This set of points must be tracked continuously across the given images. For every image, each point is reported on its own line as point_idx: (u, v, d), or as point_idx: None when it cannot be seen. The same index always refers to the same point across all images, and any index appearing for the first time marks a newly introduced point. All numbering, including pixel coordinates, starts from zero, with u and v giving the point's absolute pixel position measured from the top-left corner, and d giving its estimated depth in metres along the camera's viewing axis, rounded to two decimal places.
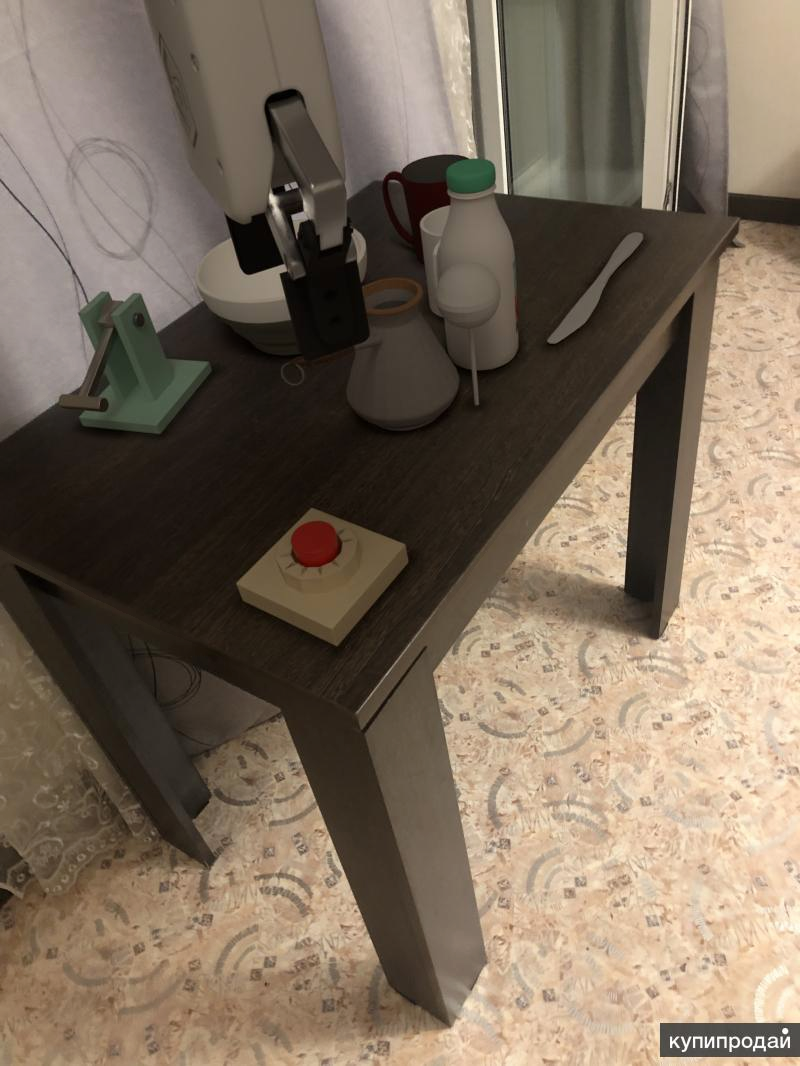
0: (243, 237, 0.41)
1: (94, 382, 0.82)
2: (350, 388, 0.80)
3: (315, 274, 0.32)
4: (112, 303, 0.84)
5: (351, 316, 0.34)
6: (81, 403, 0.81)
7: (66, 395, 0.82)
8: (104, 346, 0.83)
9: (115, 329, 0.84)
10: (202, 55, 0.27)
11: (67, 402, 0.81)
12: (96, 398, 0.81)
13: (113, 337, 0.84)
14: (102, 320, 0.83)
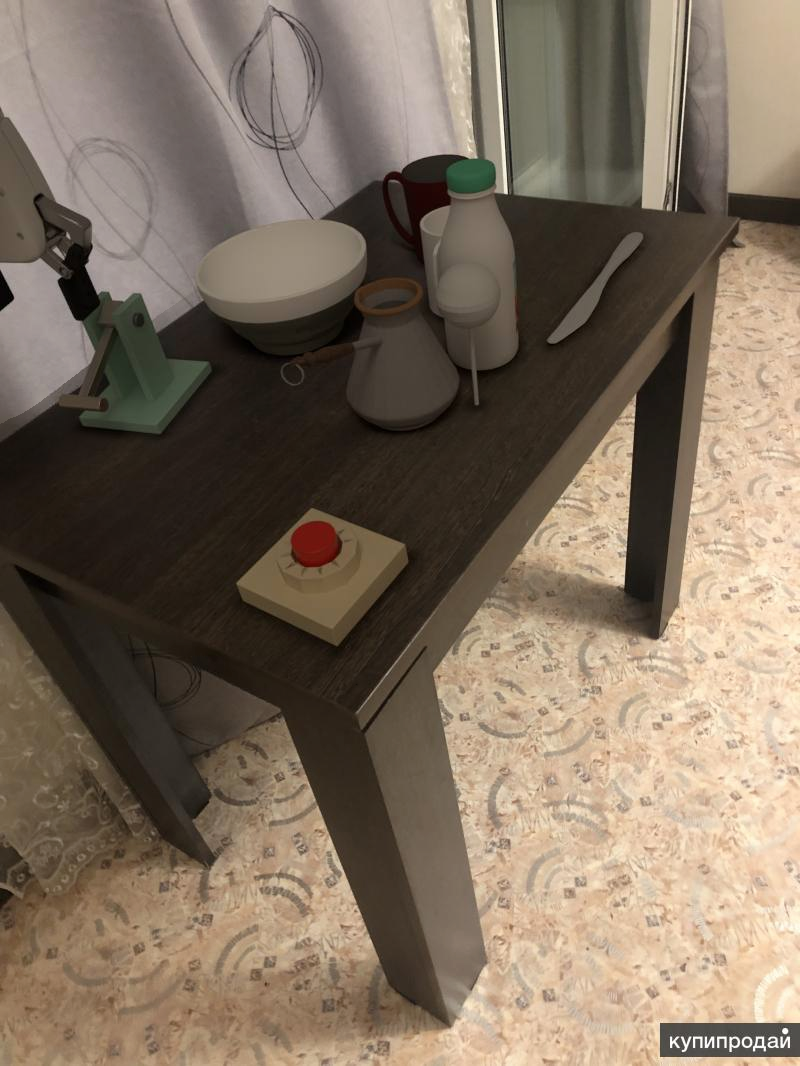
0: None
1: (94, 382, 0.82)
2: (350, 388, 0.80)
3: (76, 273, 0.69)
4: (112, 303, 0.84)
5: (94, 291, 0.71)
6: (81, 403, 0.81)
7: (66, 395, 0.82)
8: (104, 346, 0.83)
9: (115, 329, 0.84)
10: (5, 187, 0.62)
11: (67, 402, 0.81)
12: (96, 398, 0.81)
13: (113, 337, 0.84)
14: (102, 320, 0.83)
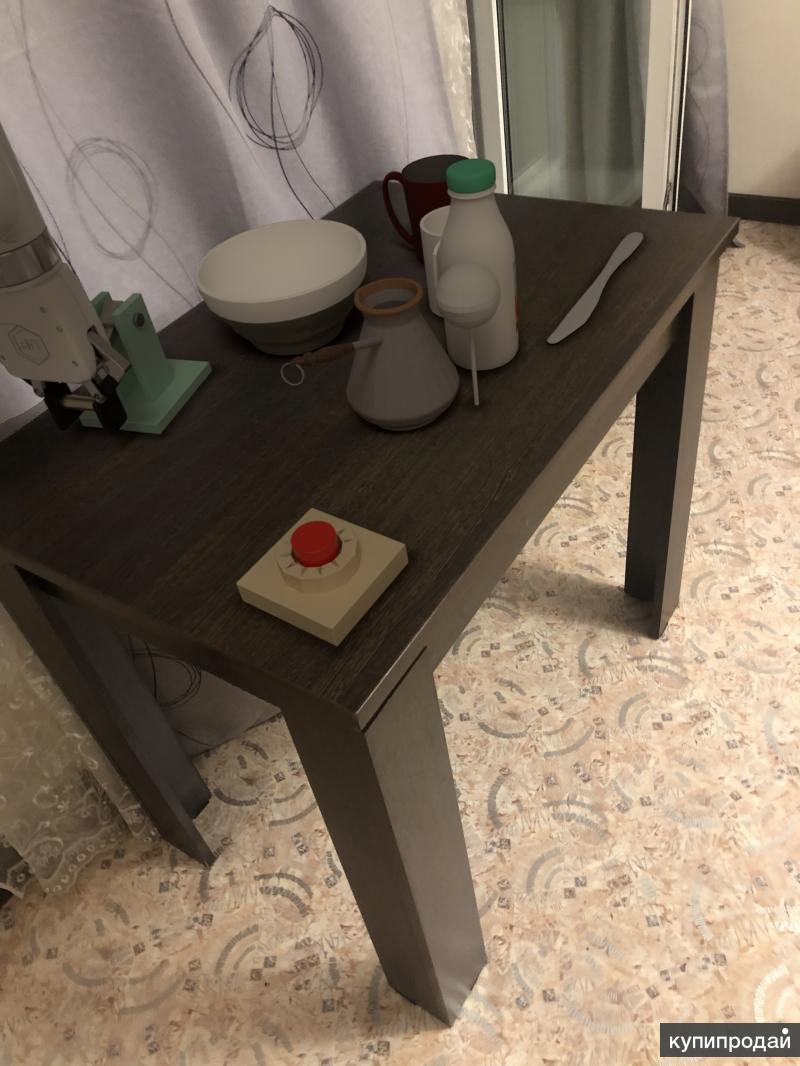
0: (59, 412, 0.82)
1: None
2: (350, 388, 0.80)
3: (108, 397, 0.79)
4: (112, 303, 0.84)
5: (123, 409, 0.82)
6: (81, 403, 0.81)
7: (66, 395, 0.82)
8: None
9: (115, 329, 0.84)
10: (64, 325, 0.72)
11: (67, 402, 0.81)
12: None
13: (113, 337, 0.84)
14: (102, 320, 0.83)
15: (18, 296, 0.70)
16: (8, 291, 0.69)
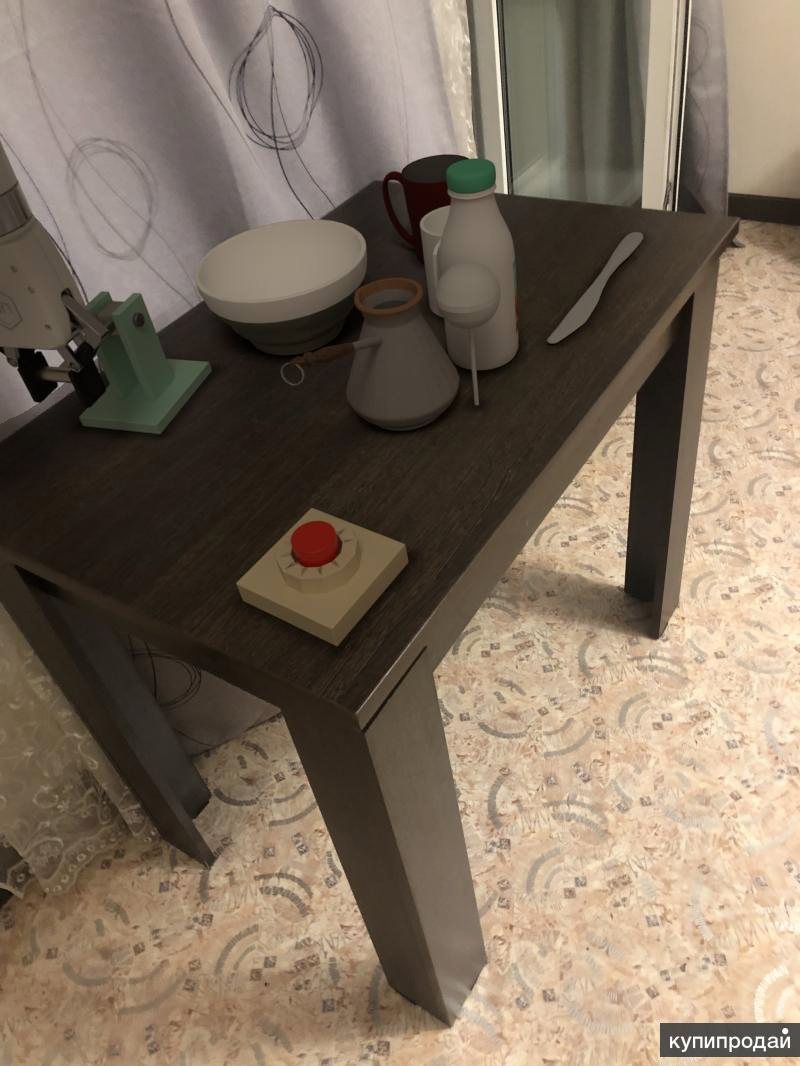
0: (34, 383, 0.79)
1: None
2: (350, 388, 0.80)
3: (85, 366, 0.76)
4: (116, 302, 0.85)
5: (101, 380, 0.78)
6: (59, 372, 0.78)
7: (45, 366, 0.79)
8: None
9: (113, 324, 0.83)
10: (36, 286, 0.68)
11: (45, 371, 0.78)
12: None
13: (109, 331, 0.83)
14: (102, 313, 0.83)
15: None
16: None
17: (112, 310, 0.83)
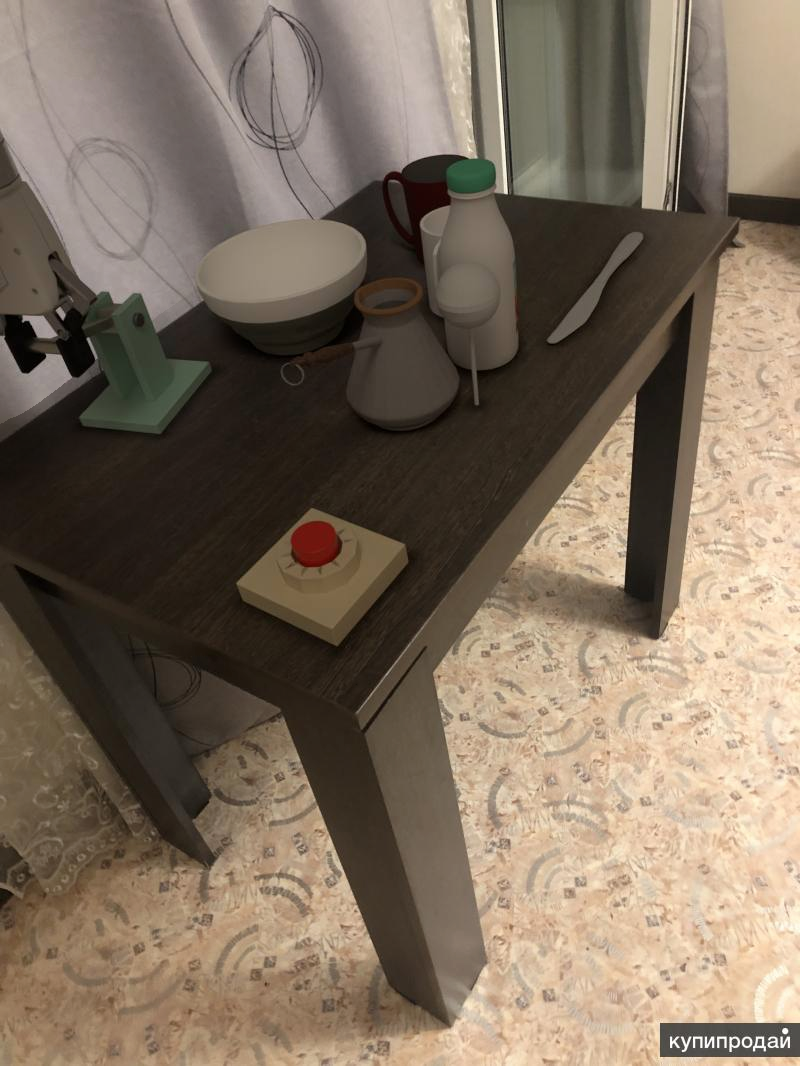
0: (22, 353, 0.77)
1: None
2: (350, 388, 0.80)
3: (73, 334, 0.74)
4: (119, 304, 0.85)
5: (90, 350, 0.76)
6: (49, 341, 0.76)
7: (36, 337, 0.77)
8: (95, 323, 0.81)
9: (112, 320, 0.83)
10: (22, 247, 0.66)
11: (34, 340, 0.76)
12: None
13: (107, 325, 0.83)
14: (103, 309, 0.83)
15: None
16: None
17: (114, 307, 0.84)
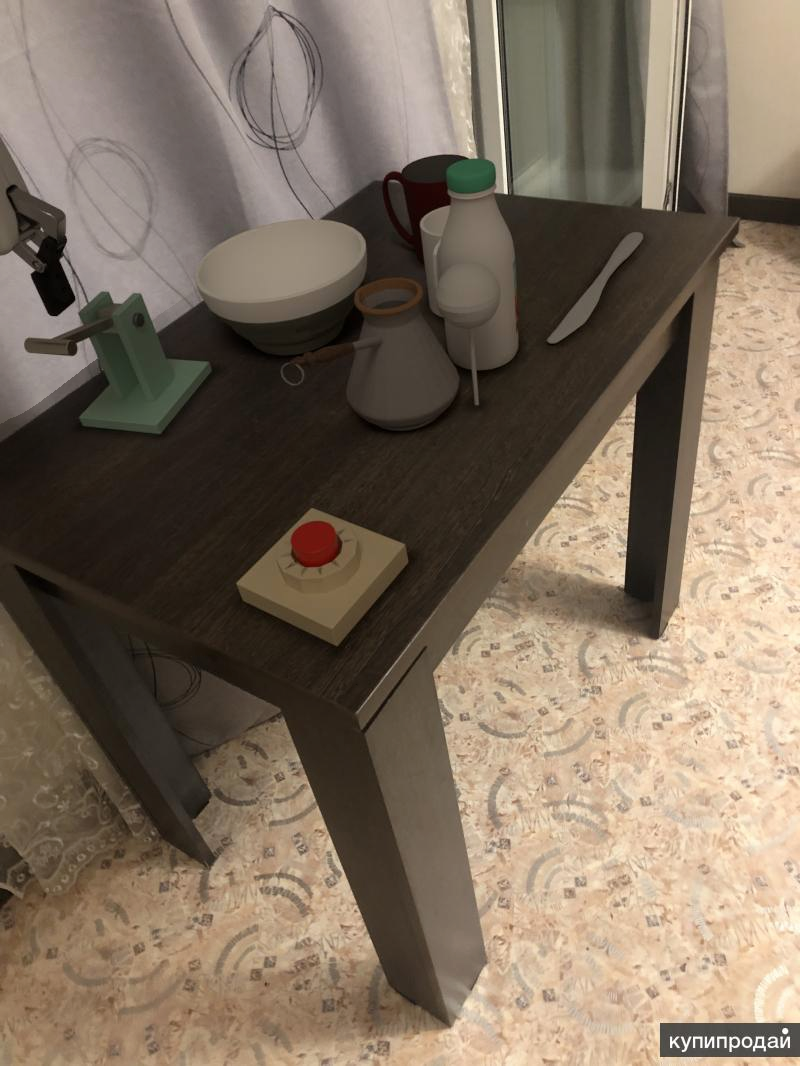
0: None
1: (71, 337, 0.78)
2: (350, 388, 0.80)
3: (50, 266, 0.67)
4: (119, 304, 0.85)
5: (69, 286, 0.70)
6: (49, 341, 0.76)
7: (36, 338, 0.77)
8: (95, 323, 0.81)
9: (112, 320, 0.83)
10: None
11: (34, 340, 0.76)
12: (67, 340, 0.76)
13: (107, 325, 0.83)
14: (103, 309, 0.83)
15: None
16: None
17: (114, 307, 0.84)
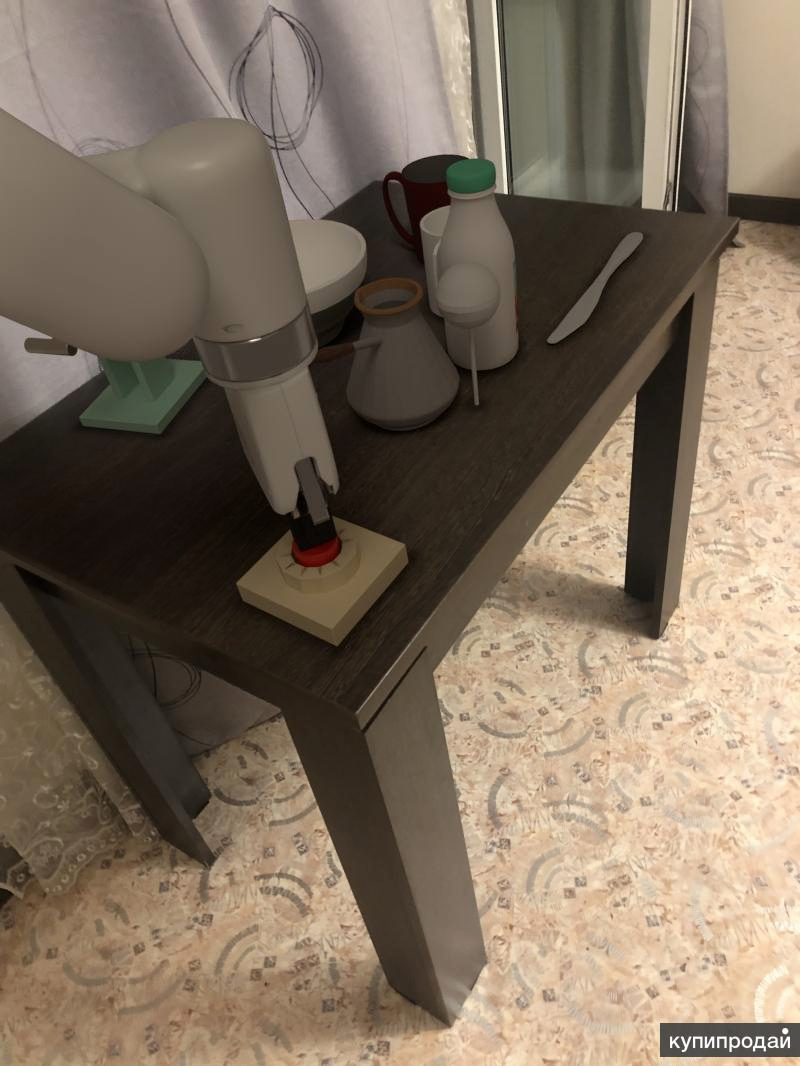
0: None
1: None
2: (350, 388, 0.80)
3: (305, 515, 0.60)
4: None
5: (326, 531, 0.62)
6: (49, 341, 0.76)
7: (36, 338, 0.77)
8: None
9: None
10: (262, 449, 0.51)
11: (34, 340, 0.76)
12: None
13: None
14: None
15: (231, 389, 0.52)
16: (215, 381, 0.51)
17: None
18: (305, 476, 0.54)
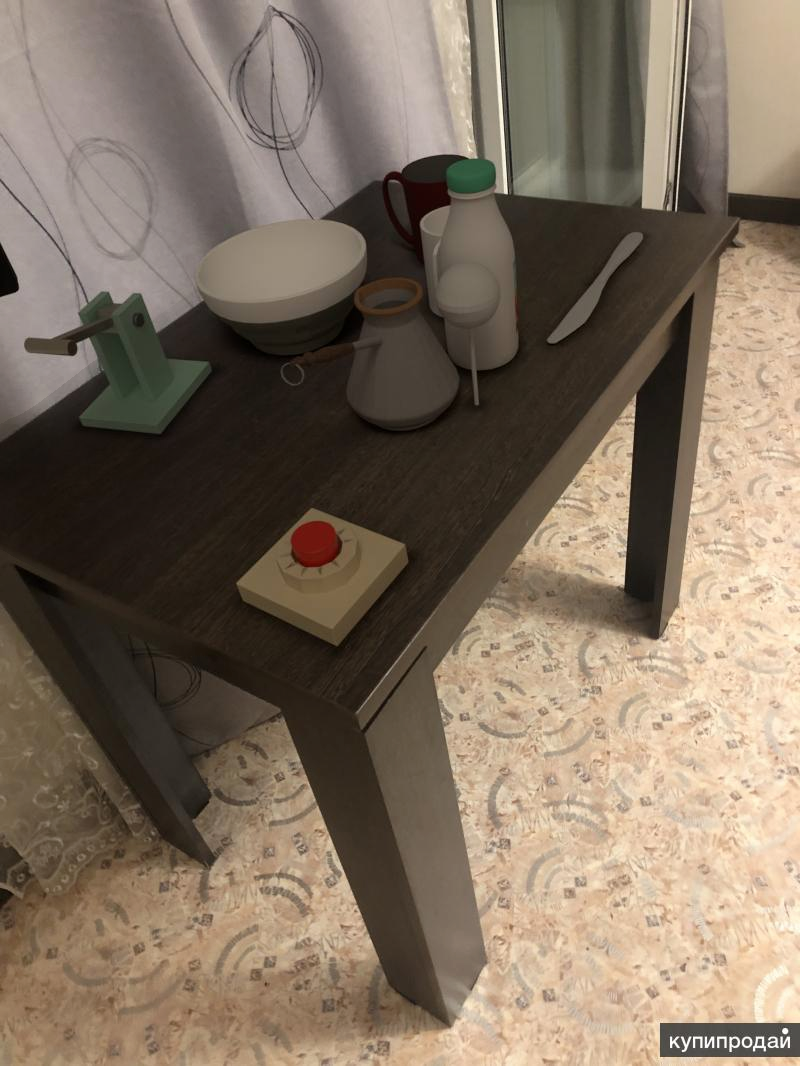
0: None
1: (71, 337, 0.78)
2: (350, 388, 0.80)
3: None
4: (119, 304, 0.85)
5: None
6: (49, 341, 0.76)
7: (36, 338, 0.77)
8: (95, 323, 0.81)
9: (112, 320, 0.83)
10: None
11: (34, 340, 0.76)
12: (67, 340, 0.76)
13: (107, 325, 0.83)
14: (103, 309, 0.83)
15: None
16: None
17: (114, 307, 0.84)
18: None
